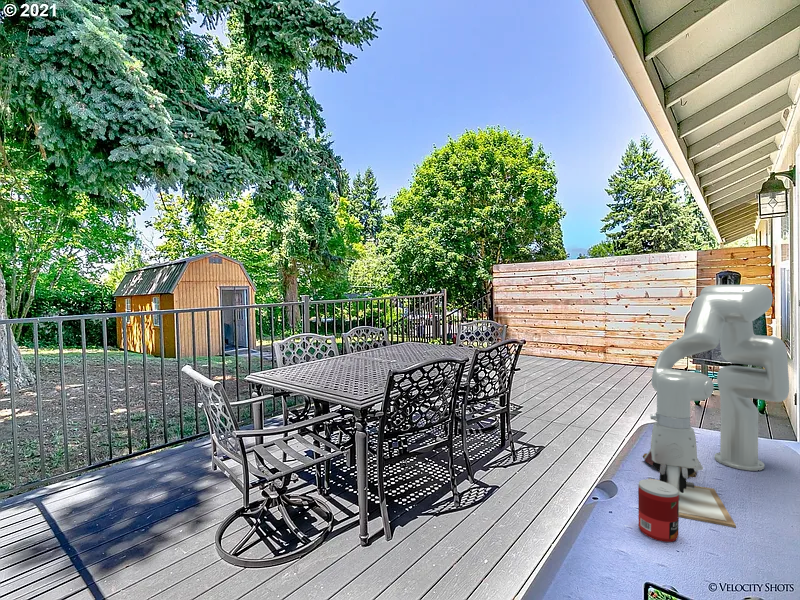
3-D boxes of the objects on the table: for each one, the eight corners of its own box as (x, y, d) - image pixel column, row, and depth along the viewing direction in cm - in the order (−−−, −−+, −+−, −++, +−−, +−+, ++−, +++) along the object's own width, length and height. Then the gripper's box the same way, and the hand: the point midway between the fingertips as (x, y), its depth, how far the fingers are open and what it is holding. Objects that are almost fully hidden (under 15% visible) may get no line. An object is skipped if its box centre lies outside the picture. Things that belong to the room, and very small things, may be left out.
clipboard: (648, 480, 123) (648, 475, 123) (714, 490, 117) (714, 485, 116) (657, 512, 105) (657, 507, 105) (735, 527, 98) (735, 521, 98)
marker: (664, 493, 113) (664, 450, 113) (678, 496, 112) (679, 452, 112) (666, 499, 110) (666, 455, 110) (681, 502, 109) (681, 457, 108)
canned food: (679, 546, 91) (679, 497, 91) (637, 535, 96) (637, 488, 95) (677, 529, 98) (678, 483, 98) (638, 520, 102) (638, 476, 102)
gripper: (639, 421, 111) (638, 489, 111) (714, 429, 104) (713, 502, 104) (636, 413, 118) (636, 477, 118) (707, 421, 111) (706, 489, 111)
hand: (672, 488), depth 111 cm, fingers closed on marker, 3 cm apart
